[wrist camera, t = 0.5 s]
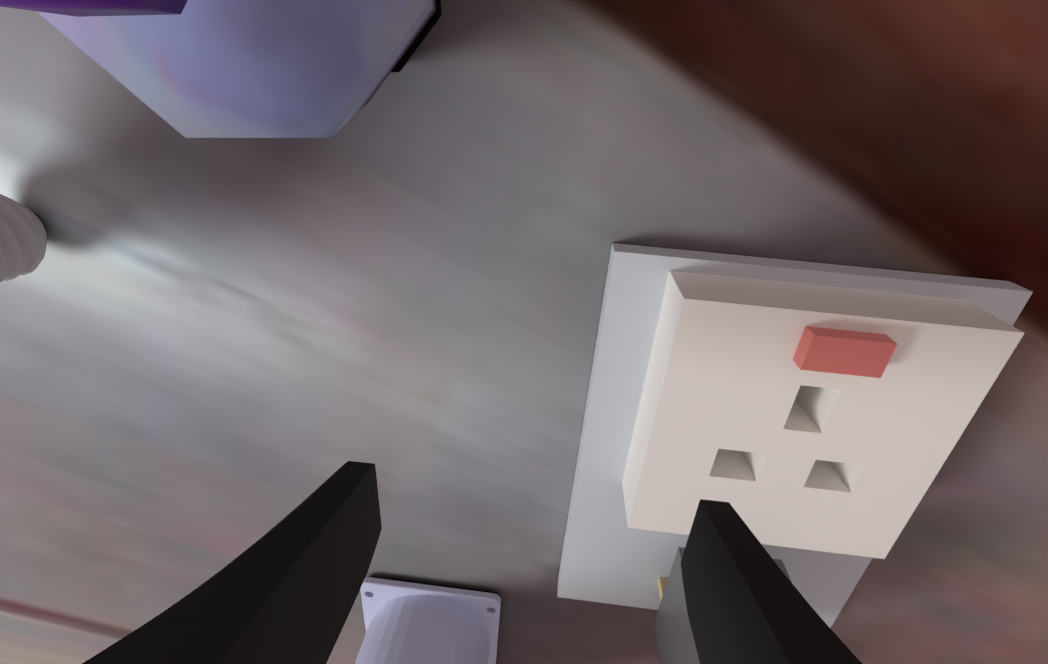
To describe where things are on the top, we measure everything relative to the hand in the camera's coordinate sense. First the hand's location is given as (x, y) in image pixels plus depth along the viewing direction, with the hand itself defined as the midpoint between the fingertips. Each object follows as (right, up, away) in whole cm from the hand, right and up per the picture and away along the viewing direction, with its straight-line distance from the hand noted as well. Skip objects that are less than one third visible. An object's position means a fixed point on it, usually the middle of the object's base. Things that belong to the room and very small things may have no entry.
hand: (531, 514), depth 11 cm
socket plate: (+10, +1, +8) cm, 13 cm away
